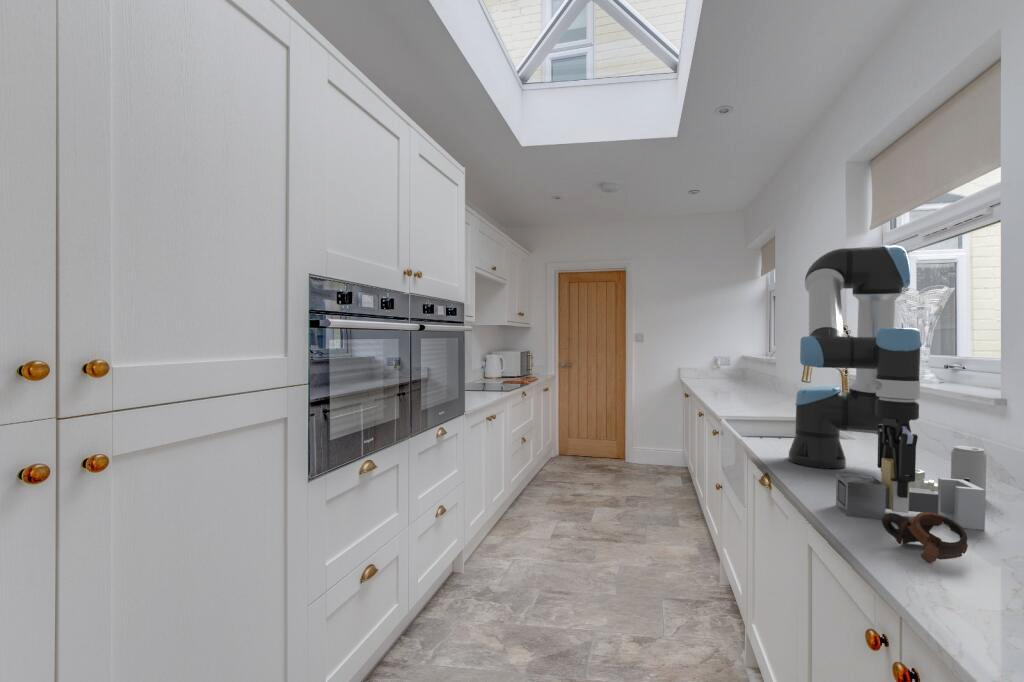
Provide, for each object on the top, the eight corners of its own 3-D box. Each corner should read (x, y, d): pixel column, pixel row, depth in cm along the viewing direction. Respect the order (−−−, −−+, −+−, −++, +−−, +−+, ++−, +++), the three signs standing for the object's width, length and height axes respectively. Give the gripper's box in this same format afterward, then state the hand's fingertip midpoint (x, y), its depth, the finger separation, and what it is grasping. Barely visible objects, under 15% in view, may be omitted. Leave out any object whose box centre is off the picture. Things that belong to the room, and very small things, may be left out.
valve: (902, 498, 122) (969, 510, 115) (902, 471, 122) (970, 481, 115) (904, 492, 127) (968, 503, 120) (904, 466, 127) (969, 475, 120)
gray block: (835, 505, 116) (836, 473, 116) (871, 508, 114) (872, 476, 114) (847, 515, 109) (847, 481, 109) (885, 519, 107) (886, 485, 107)
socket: (937, 514, 111) (938, 477, 111) (962, 516, 110) (963, 479, 110) (957, 527, 104) (958, 487, 104) (984, 530, 102) (985, 490, 102)
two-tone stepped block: (838, 499, 115) (839, 454, 115) (927, 507, 110) (928, 461, 110) (845, 505, 111) (845, 459, 111) (938, 514, 106) (939, 466, 106)
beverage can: (989, 502, 120) (990, 451, 120) (953, 498, 123) (955, 448, 123) (981, 495, 126) (982, 446, 126) (947, 491, 129) (948, 443, 129)
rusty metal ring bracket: (957, 552, 92) (975, 521, 88) (953, 592, 86) (972, 560, 82) (878, 521, 99) (891, 491, 95) (869, 555, 93) (883, 525, 89)
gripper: (861, 394, 119) (859, 494, 120) (894, 403, 103) (891, 519, 103) (899, 396, 117) (896, 497, 117) (939, 405, 100) (936, 524, 101)
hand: (894, 507), depth 110 cm, fingers closed on two-tone stepped block, 4 cm apart
